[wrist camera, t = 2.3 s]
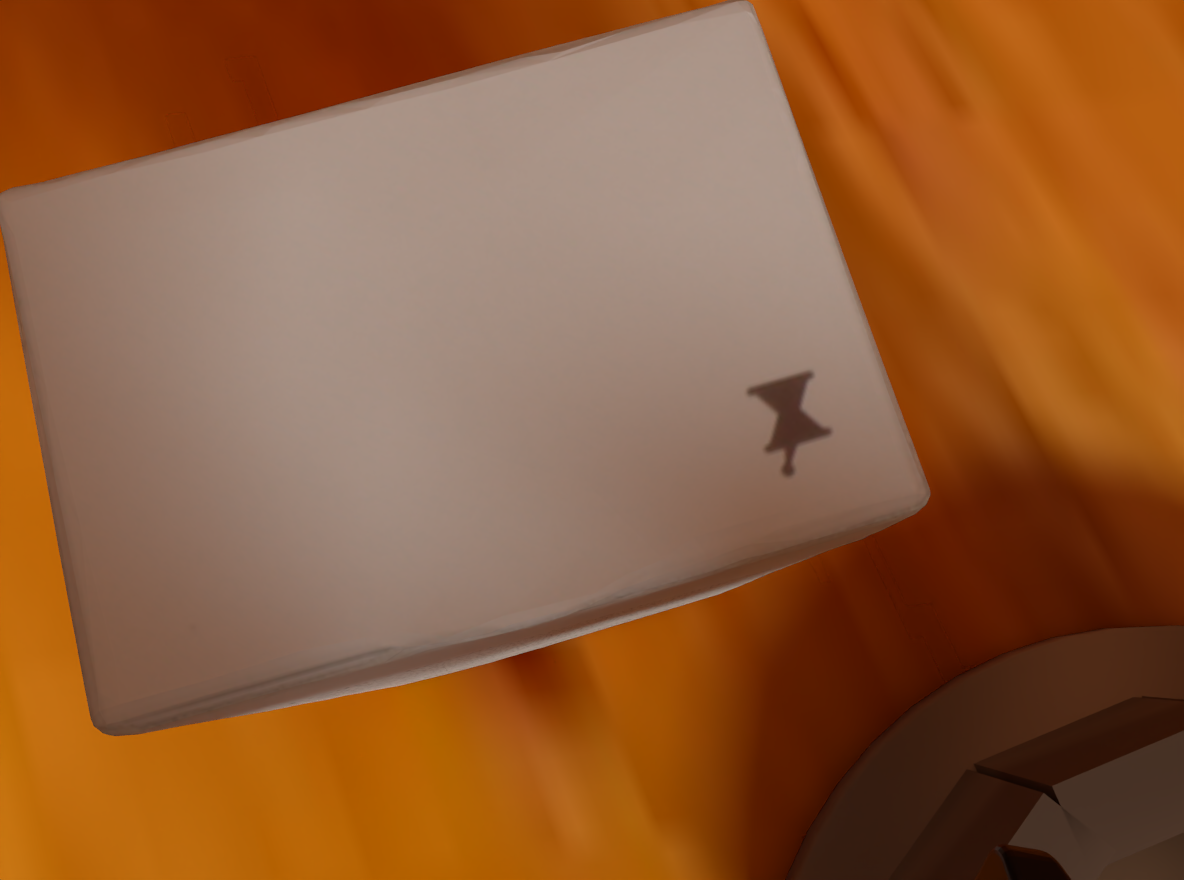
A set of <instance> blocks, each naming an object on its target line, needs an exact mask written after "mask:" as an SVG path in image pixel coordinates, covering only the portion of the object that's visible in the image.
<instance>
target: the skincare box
mask: <svg viewBox="0 0 1184 880" xmlns="http://www.w3.org/2000/svg"><path fill="white" fill-rule="evenodd" d="M0 226H1V231H2V235H3V240H4V245H5V251H6V257H7V262H8V268H9V274H10V279H11V285H12V291H13V296H14V302H15V308H16V313H17V319H18V325H19V330H20V336H21V341H22V347H23V353H24V358H25V364H26V369H27V375H28V381H29V386H30V392H31V397H32V403H33V409H34V414H35V419H36V425H37V430H38V436H39V441H40V446H41V452H42V457H43V463H44V468H45V473H46V479H47V485H48V490H49V496H50V502H51V507H52V513H53V519H54V524H55V530H56V536H57V541H58V547H59V552H60V557H61V563H62V568H63V574H64V579H65V584H66V590H67V595H68V600H69V606H70V611H71V616H72V622H73V627H74V633H75V638H76V643H77V649H78V654H79V659H80V665H81V670H82V675H83V680H84V685H85V691H86V696H87V701H88V706H89V711H90V716H91V720H92V723H93V725H94V726H95V727H96V728H97V729H99V730H100V731H101V732H102V733H105V734H108V735H113V736H122V735H135V734H142V733H147V732H153V731H158V730H163V729H168V728H173V727H178V726H183V725H189V724H195V723H201V722H206V721H212V720H217V719H223V718H229V717H236V716H242V715H247V714H253V713H259V712H265V711H271V710H275V709H280V708H285V707H290V706H295V705H300V704H305V703H311V702H316V701H322V700H327V699H332V698H336V697H341V696H345V695H351V694H357V693H362V692H367V691H373V690H378V689H384V688H389V687H396V686H400V685H404V684H408V683H412V682H417V681H421V680H425V679H429V678H433V677H437V676H441V675H445V674H449V673H453V672H456V671H460V670H464V669H468V668H472V667H475V666H479V665H483V664H486V663H490V662H493V661H497V660H500V659H504V658H507V657H511V656H514V655H518V654H521V653H524V652H528V651H531V650H535V649H538V648H542V647H545V646H548V645H552V644H555V643H558V642H562V641H565V640H568V639H572V638H575V637H578V636H582V635H585V634H588V633H592V632H595V631H598V630H602V629H605V628H608V627H612V626H615V625H618V624H622V623H625V622H628V621H632V620H635V619H638V618H642V617H645V616H648V615H652V614H655V613H658V612H662V611H665V610H668V609H672V608H675V607H678V606H682V605H685V604H688V603H691V602H695V601H698V600H701V599H704V598H708V597H711V596H714V595H718V594H721V593H723V592H725V591H728V590H731V589H733V588H736V587H739V586H741V585H743V584H746V583H749V582H751V581H753V580H755V579H757V578H760V577H762V576H765V575H767V574H769V573H772V572H774V571H777V570H780V569H782V568H785V567H787V566H790V565H793V564H795V563H798V562H801V561H803V560H805V559H808V558H811V557H813V556H815V555H818V554H821V553H823V552H826V551H828V550H831V549H834V548H837V547H840V546H843V545H846V544H849V543H852V542H855V541H858V540H861V539H863V538H865V537H867V536H869V535H871V534H874V533H876V532H879V531H881V530H883V529H885V528H887V527H889V526H891V525H893V524H896V523H898V522H900V521H902V520H904V519H906V518H908V517H910V516H912V515H914V514H916V513H917V512H918V511H919V510H921V509H922V508H923V507H924V506H925V505H926V504H927V502H928V499H929V497H930V488H929V486H928V483H927V480H926V478H925V475H924V472H923V469H922V467H921V464H920V461H919V459H918V456H917V453H916V451H915V448H914V445H913V443H912V440H911V437H910V435H909V432H908V429H907V427H906V424H905V421H904V419H903V416H902V413H901V411H900V408H899V405H898V402H897V400H896V397H895V394H894V392H893V389H892V386H891V384H890V381H889V378H888V376H887V373H886V370H885V368H884V365H883V362H882V360H881V357H880V354H879V351H878V349H877V346H876V343H875V341H874V338H873V335H872V332H871V330H870V327H869V324H868V321H867V319H866V316H865V313H864V310H863V308H862V305H861V302H860V299H859V297H858V294H857V291H856V289H855V286H854V283H853V280H852V278H851V275H850V272H849V269H848V267H847V264H846V261H845V258H844V256H843V253H842V250H841V247H840V245H839V242H838V239H837V237H836V234H835V231H834V228H833V225H832V223H831V220H830V217H829V214H828V212H827V209H826V206H825V203H824V201H823V198H822V195H821V192H820V189H819V187H818V184H817V181H816V178H815V176H814V173H813V170H812V167H811V164H810V162H809V159H808V156H807V153H806V151H805V148H804V145H803V142H802V140H801V137H800V134H799V131H798V128H797V126H796V123H795V120H794V117H793V114H792V112H791V109H790V106H789V103H788V100H787V98H786V95H785V92H784V89H783V86H782V84H781V81H780V78H779V75H778V72H777V69H776V67H775V64H774V61H773V58H772V55H771V53H770V50H769V47H768V44H767V41H766V39H765V36H764V33H763V30H762V28H761V25H760V22H759V20H758V17H757V15H756V12H755V9H754V7H753V4H751V3H750V2H748V1H745V0H728V1H725V2H721V3H718V4H715V5H711V6H708V7H704V8H700V9H696V10H692V11H688V12H684V13H680V14H676V15H672V16H668V17H664V18H660V19H656V20H653V21H649V22H645V23H641V24H637V25H633V26H630V27H626V28H622V29H618V30H614V31H611V32H607V33H603V34H599V35H595V36H591V37H588V38H584V39H580V40H576V41H572V42H568V43H564V44H560V45H556V46H552V47H548V48H545V49H541V50H537V51H533V52H530V53H526V54H522V55H518V56H515V57H511V58H507V59H503V60H500V61H496V62H492V63H489V64H485V65H481V66H477V67H474V68H470V69H466V70H463V71H459V72H455V73H451V74H448V75H444V76H440V77H437V78H433V79H429V80H425V81H422V82H418V83H414V84H410V85H407V86H403V87H400V88H396V89H392V90H389V91H385V92H381V93H378V94H374V95H370V96H367V97H363V98H360V99H356V100H352V101H349V102H345V103H341V104H338V105H334V106H330V107H327V108H323V109H320V110H316V111H312V112H309V113H305V114H301V115H297V116H294V117H290V118H286V119H282V120H278V121H275V122H271V123H267V124H263V125H259V126H256V127H252V128H248V129H244V130H240V131H237V132H233V133H229V134H225V135H221V136H217V137H214V138H210V139H206V140H202V141H199V142H195V143H191V144H188V145H184V146H180V147H177V148H173V149H169V150H166V151H162V152H158V153H155V154H151V155H147V156H143V157H139V158H135V159H131V160H127V161H123V162H119V163H115V164H111V165H107V166H103V167H99V168H95V169H91V170H87V171H83V172H80V173H76V174H72V175H68V176H64V177H60V178H56V179H53V180H49V181H45V182H41V183H36V184H30V185H25V186H19V187H14V188H11V189H8V190H6V191H4V192H2V193H0Z"/></svg>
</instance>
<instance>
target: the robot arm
mask: <svg viewBox="0 0 1184 880" xmlns="http://www.w3.org/2000/svg"><path fill="white" fill-rule="evenodd" d="M975 880H1072V879H1071V878H1070V877H1069V875H1068V874H1067V873H1066V871H1065V870H1064V869H1063V867H1062V866H1061V865H1060V863H1059V862H1058V861H1057V860H1056V859H1055V858H1054V857H1053V856H1051V855H1050V854H1049V853H1047V852H1045V851H1042V850H1038V849H1032V848H1025V847H1019V846H1013V845H1007V844H1000V845H998V846H996V847H995V848H993V849H992V850H991V852H990V853H989V854H988V856H987V858H986V860H985V862H984V863H983V865H982V867H981V869H980V871H979V873H978V875H977V876H976V878H975Z"/></svg>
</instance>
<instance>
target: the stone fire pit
mask: <svg viewBox="0 0 1184 880" xmlns="http://www.w3.org/2000/svg"><path fill="white" fill-rule="evenodd" d="M1000 844H1007V845H1013V846H1019V847H1025V848H1032V849H1038V850H1042V851H1045V852H1047V853H1049V854H1050V855H1051V856H1053V857H1054V858H1055V859H1056V860H1057V861H1058V862H1059V863H1060V865H1061V866H1062V867H1063V869H1064V870H1065V871H1066V873H1067V874H1068V875H1069V877H1070V878H1071V879H1072V880H1184V626H1179V625H1178V626H1150V627H1127V628H1104V629H1097V630H1092V631H1086V632H1081V633H1075V634H1070V635H1064V636H1059V637H1053V638H1049V639H1046V640H1043V641H1040V642H1037V643H1034V644H1031V645H1028V646H1025V647H1022V648H1019V649H1016V650H1013V651H1010V652H1007V653H1004V654H1001V655H999V656H997V657H995V658H993V659H991V660H989V661H987V662H985V663H983V664H981V665H979V666H977V667H975V668H973V669H971V670H969V671H967V672H965V673H963V674H961V675H959V676H956V677H955V678H953V679H952V680H950V681H949V682H947V683H946V684H944V685H943V686H941V687H940V688H939V689H937V690H936V691H934V692H933V693H931V694H930V695H928V696H927V697H925V698H924V699H922V700H921V701H919V702H918V703H916V704H915V705H914V706H912V707H911V708H910V709H909V710H908V711H907V712H905V713H904V714H903V715H902V716H901V717H900V718H899V719H898V720H897V721H895V722H894V723H893V724H892V725H891V726H890V727H889V728H888V729H887V730H886V731H884V732H883V733H882V734H881V735H880V736H879V737H878V738H877V739H876V740H874V741H873V742H872V743H871V745H870V746H869V747H868V748H867V749H866V751H865V752H864V753H863V754H862V755H861V757H860V758H859V759H858V760H857V761H856V763H855V764H854V765H853V766H852V767H851V768H850V770H849V771H848V772H847V773H846V774H845V776H844V777H843V778H842V779H841V780H840V782H839V783H838V784H837V786H836V787H835V789H834V790H833V792H832V793H831V795H830V797H829V798H828V800H827V801H826V803H825V805H824V806H823V808H822V809H821V811H820V812H819V814H818V816H817V817H816V819H815V820H814V822H813V824H812V825H811V827H810V828H809V830H808V832H807V834H806V836H805V838H804V840H803V843H802V845H801V847H800V849H799V851H798V853H797V855H796V858H795V860H794V862H793V864H792V866H791V868H790V871H789V873H788V875H787V877H786V879H785V880H975V878H976V876H977V875H978V873H979V871H980V869H981V867H982V865H983V863H984V862H985V860H986V858H987V856H988V854H989V853H990V852H991V850H992V849H993V848H995V847H996V846H998V845H1000Z"/></svg>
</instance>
